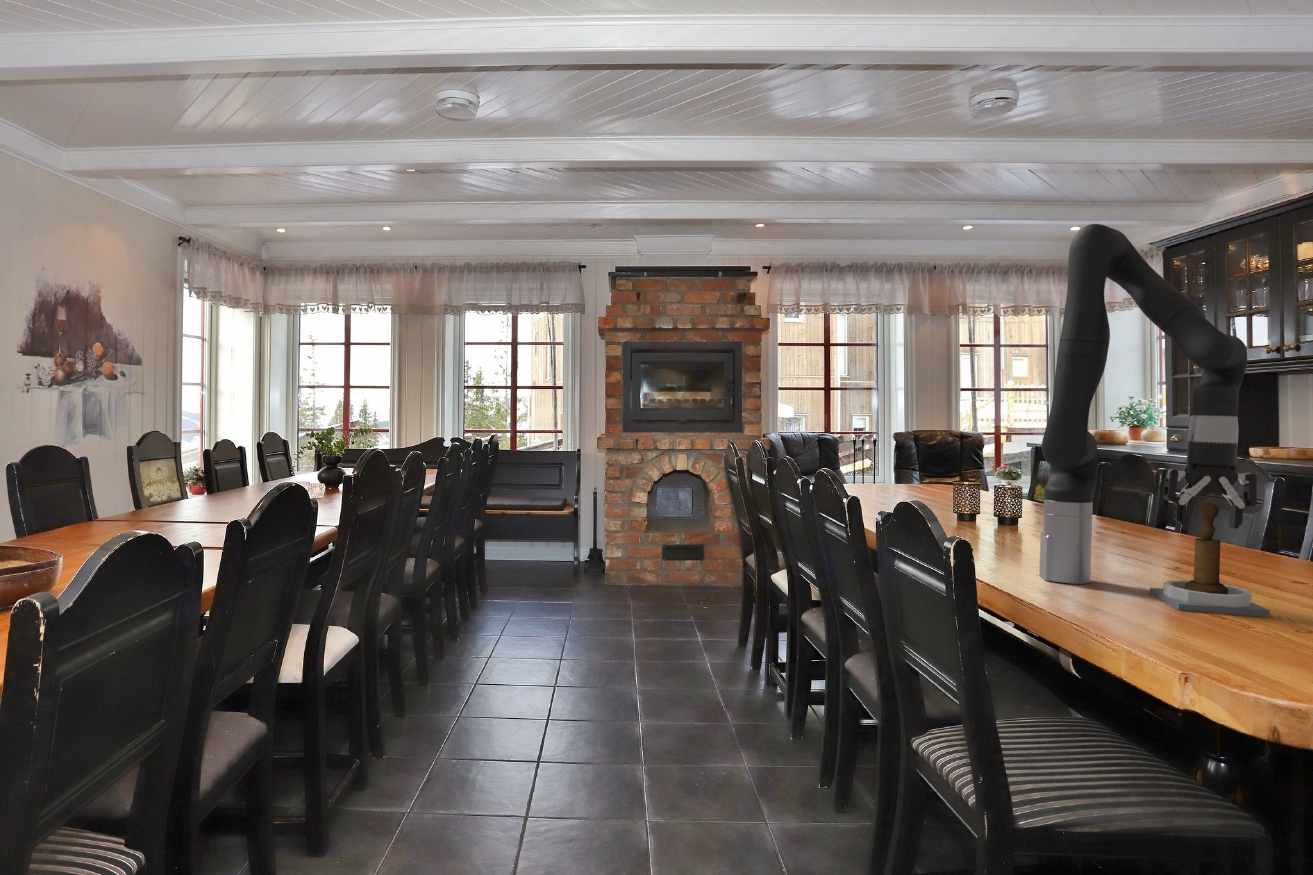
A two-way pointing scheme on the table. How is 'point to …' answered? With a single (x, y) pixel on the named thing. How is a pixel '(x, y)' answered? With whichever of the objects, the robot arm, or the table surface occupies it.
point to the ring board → (1210, 608)
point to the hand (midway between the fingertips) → (1207, 526)
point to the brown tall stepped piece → (1207, 556)
